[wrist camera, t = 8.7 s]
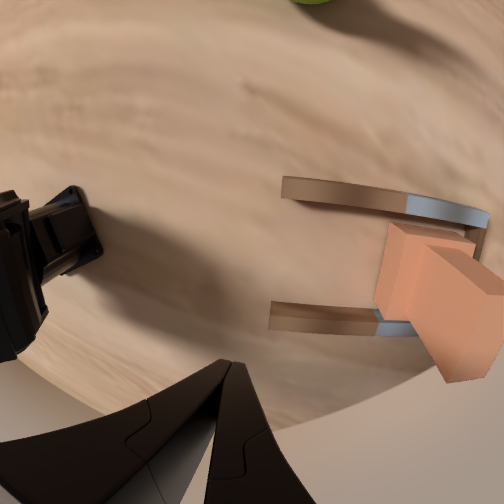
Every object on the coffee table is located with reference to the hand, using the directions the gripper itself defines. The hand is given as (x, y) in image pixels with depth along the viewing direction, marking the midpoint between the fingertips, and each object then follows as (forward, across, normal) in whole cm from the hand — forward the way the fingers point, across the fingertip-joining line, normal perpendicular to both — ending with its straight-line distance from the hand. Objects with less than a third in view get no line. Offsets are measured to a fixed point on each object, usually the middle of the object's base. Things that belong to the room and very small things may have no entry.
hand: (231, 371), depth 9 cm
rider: (+13, +11, 0) cm, 17 cm away
